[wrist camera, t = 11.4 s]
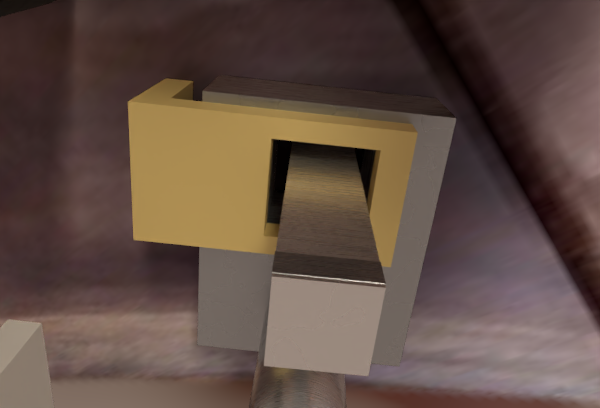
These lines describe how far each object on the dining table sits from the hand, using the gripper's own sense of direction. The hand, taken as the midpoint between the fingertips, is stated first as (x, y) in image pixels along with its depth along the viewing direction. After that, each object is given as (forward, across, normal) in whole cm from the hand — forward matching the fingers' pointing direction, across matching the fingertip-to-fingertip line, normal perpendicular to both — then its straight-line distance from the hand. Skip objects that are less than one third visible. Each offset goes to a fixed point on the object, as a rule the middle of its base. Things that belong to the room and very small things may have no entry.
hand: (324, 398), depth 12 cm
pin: (+19, 0, -1) cm, 19 cm away
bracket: (+19, -3, -1) cm, 19 cm away
